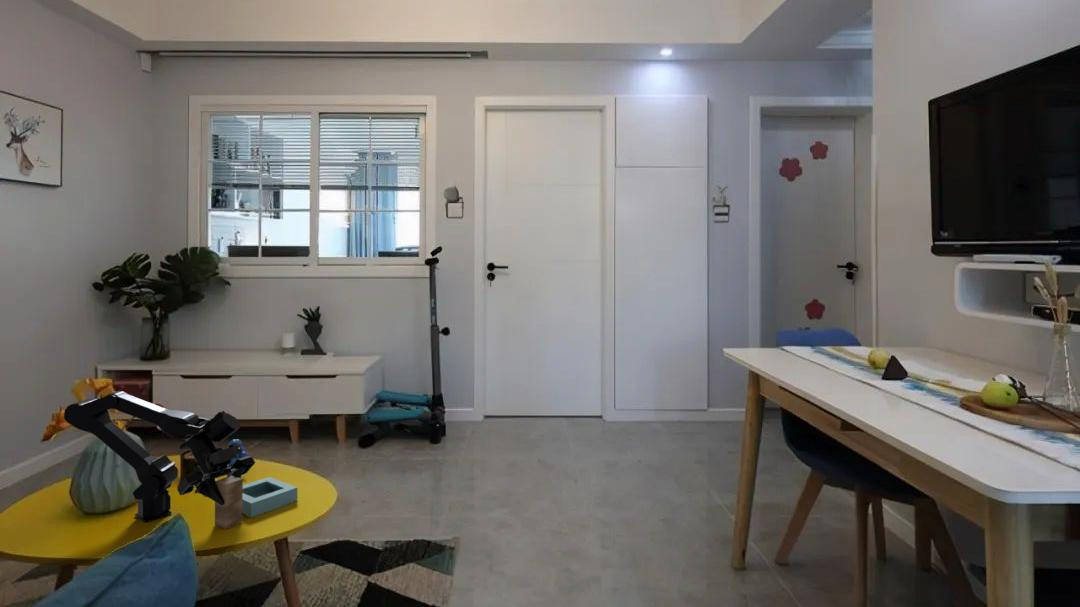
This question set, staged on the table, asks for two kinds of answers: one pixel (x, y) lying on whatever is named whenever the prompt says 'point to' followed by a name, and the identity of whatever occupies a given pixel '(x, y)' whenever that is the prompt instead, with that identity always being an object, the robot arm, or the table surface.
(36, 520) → the table surface
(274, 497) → the box
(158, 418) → the robot arm
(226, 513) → the walnut block
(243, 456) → the grapes
